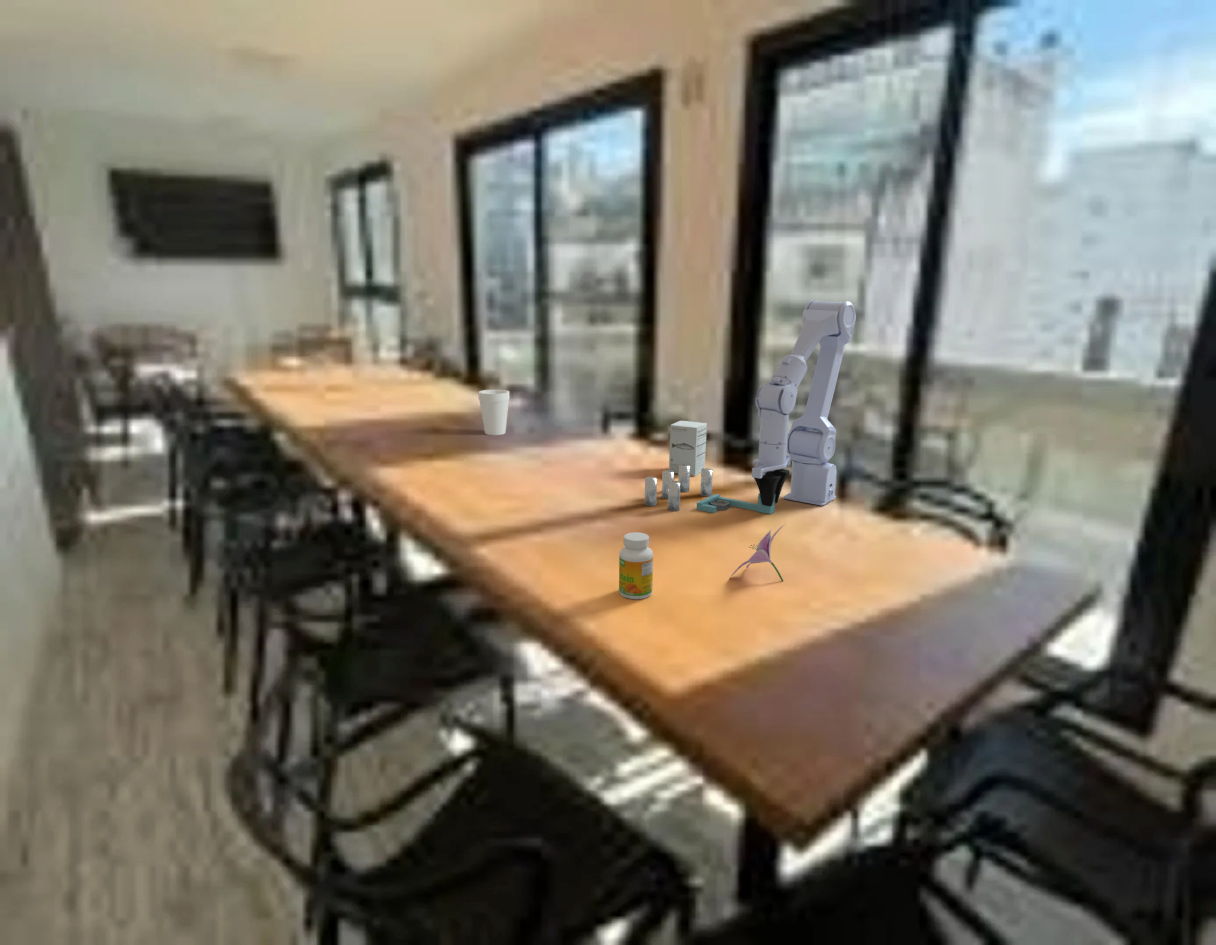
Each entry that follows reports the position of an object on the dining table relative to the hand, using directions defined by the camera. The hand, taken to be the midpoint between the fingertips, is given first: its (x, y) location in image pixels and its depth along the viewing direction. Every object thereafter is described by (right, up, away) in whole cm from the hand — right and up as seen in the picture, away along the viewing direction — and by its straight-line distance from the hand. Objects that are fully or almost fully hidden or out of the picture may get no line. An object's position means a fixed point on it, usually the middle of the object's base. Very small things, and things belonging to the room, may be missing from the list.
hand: (769, 503), depth 171 cm
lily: (-9, -11, -35) cm, 37 cm away
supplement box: (-14, +7, +34) cm, 37 cm away
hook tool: (-7, -2, +2) cm, 7 cm away
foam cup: (-70, +19, +80) cm, 108 cm away
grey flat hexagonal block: (-10, -1, +4) cm, 11 cm away
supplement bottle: (-30, -13, -42) cm, 53 cm away
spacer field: (-18, +1, +10) cm, 21 cm away
